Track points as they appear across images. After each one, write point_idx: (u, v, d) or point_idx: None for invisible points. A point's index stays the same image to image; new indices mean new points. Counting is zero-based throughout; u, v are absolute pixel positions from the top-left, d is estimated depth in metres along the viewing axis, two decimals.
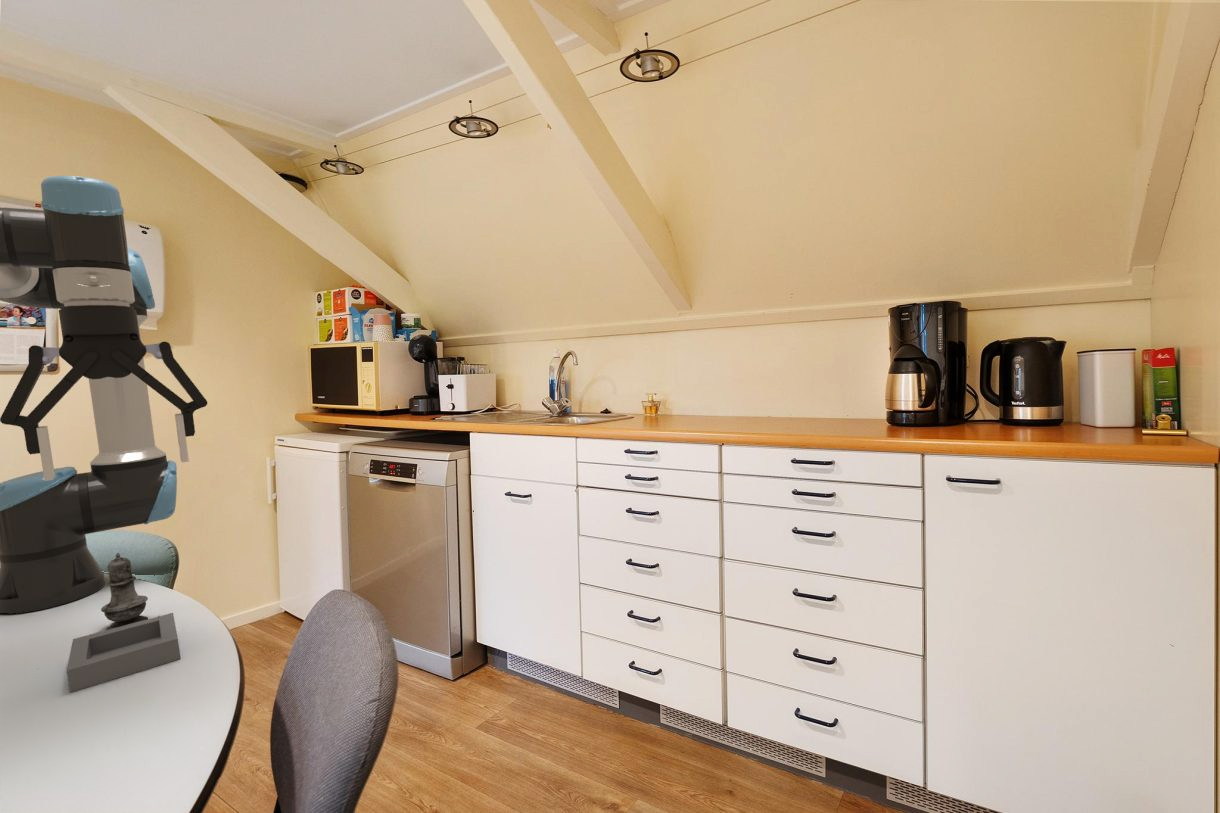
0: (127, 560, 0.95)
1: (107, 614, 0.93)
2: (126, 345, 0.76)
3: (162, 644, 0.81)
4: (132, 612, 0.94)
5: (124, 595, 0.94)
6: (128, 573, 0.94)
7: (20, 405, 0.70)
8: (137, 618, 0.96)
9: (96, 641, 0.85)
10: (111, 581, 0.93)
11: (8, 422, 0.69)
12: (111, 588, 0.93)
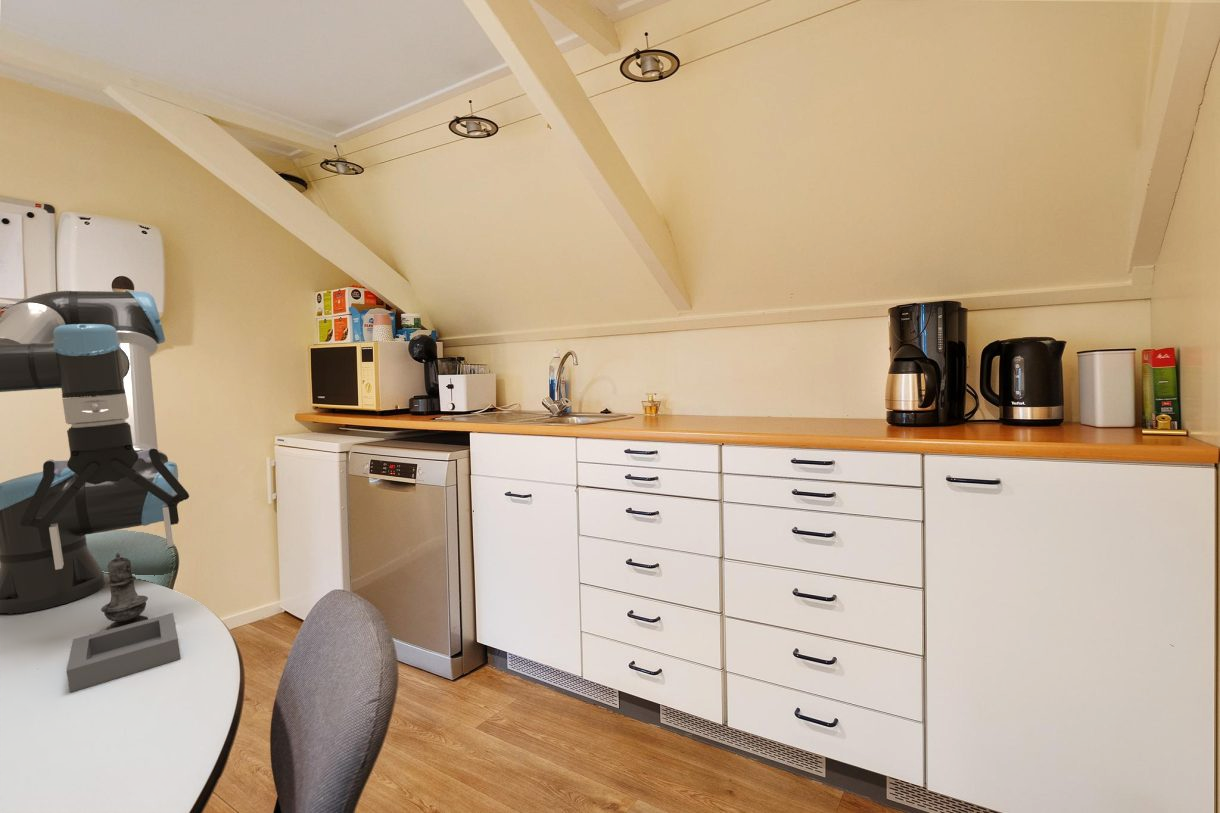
0: (127, 560, 0.95)
1: (107, 614, 0.93)
2: (122, 454, 0.93)
3: (162, 644, 0.81)
4: (132, 612, 0.94)
5: (124, 595, 0.94)
6: (128, 573, 0.94)
7: (36, 510, 0.87)
8: (137, 618, 0.96)
9: (96, 641, 0.85)
10: (111, 581, 0.93)
11: (26, 524, 0.86)
12: (111, 588, 0.93)
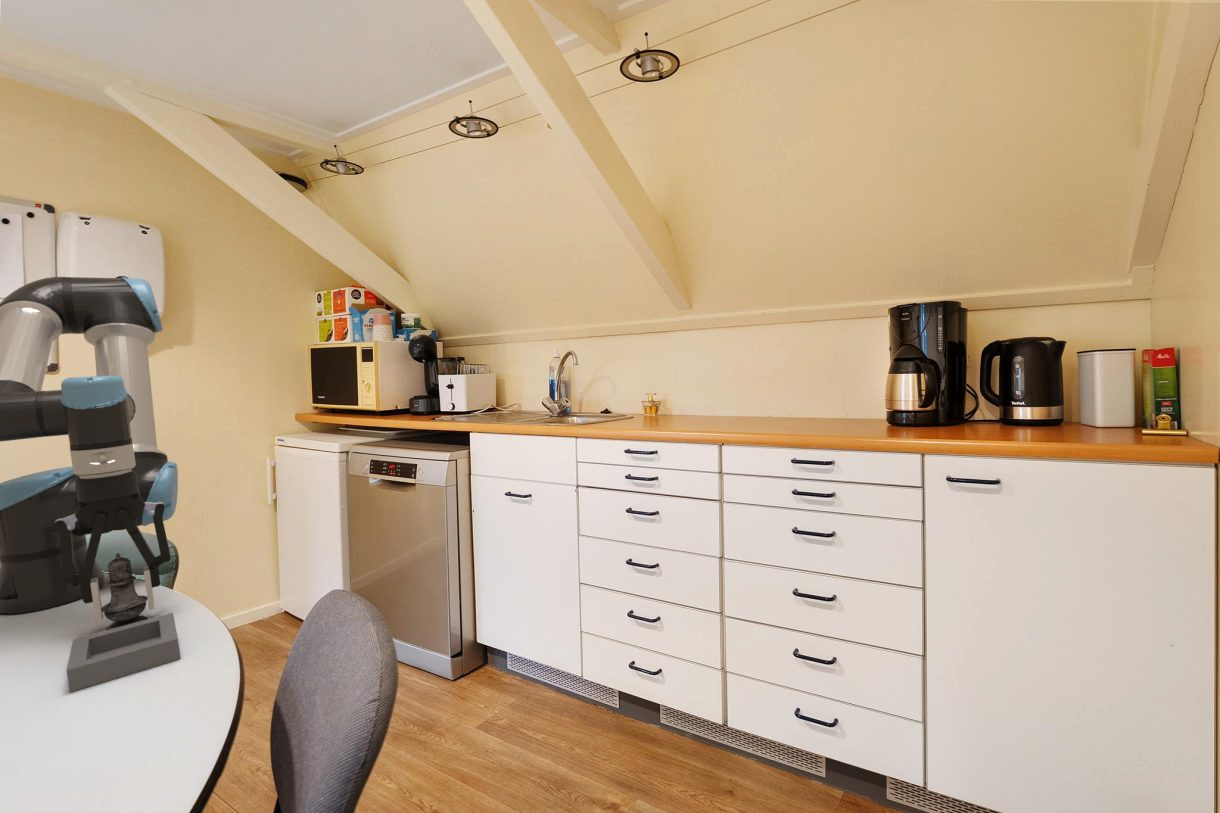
0: (127, 560, 0.94)
1: (107, 614, 0.93)
2: (131, 501, 0.94)
3: (162, 644, 0.81)
4: (132, 612, 0.94)
5: (124, 595, 0.94)
6: (128, 573, 0.94)
7: (71, 566, 0.90)
8: (137, 618, 0.96)
9: (96, 641, 0.85)
10: (111, 581, 0.93)
11: (70, 581, 0.90)
12: (111, 588, 0.93)
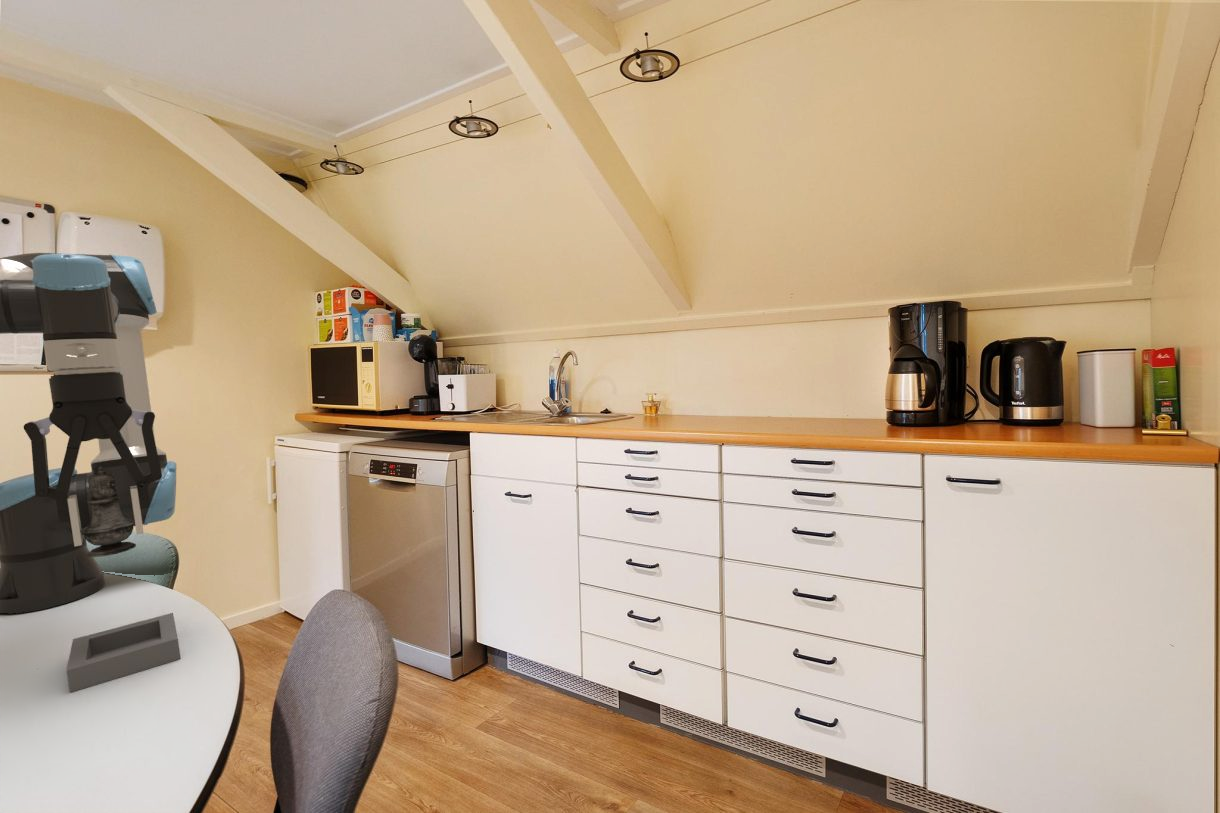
0: (111, 475, 0.81)
1: (87, 536, 0.79)
2: (115, 406, 0.81)
3: (162, 644, 0.81)
4: (117, 534, 0.80)
5: (107, 514, 0.80)
6: (112, 490, 0.81)
7: (45, 477, 0.77)
8: (123, 544, 0.83)
9: (96, 641, 0.85)
10: (92, 498, 0.80)
11: (44, 494, 0.77)
12: (92, 506, 0.80)
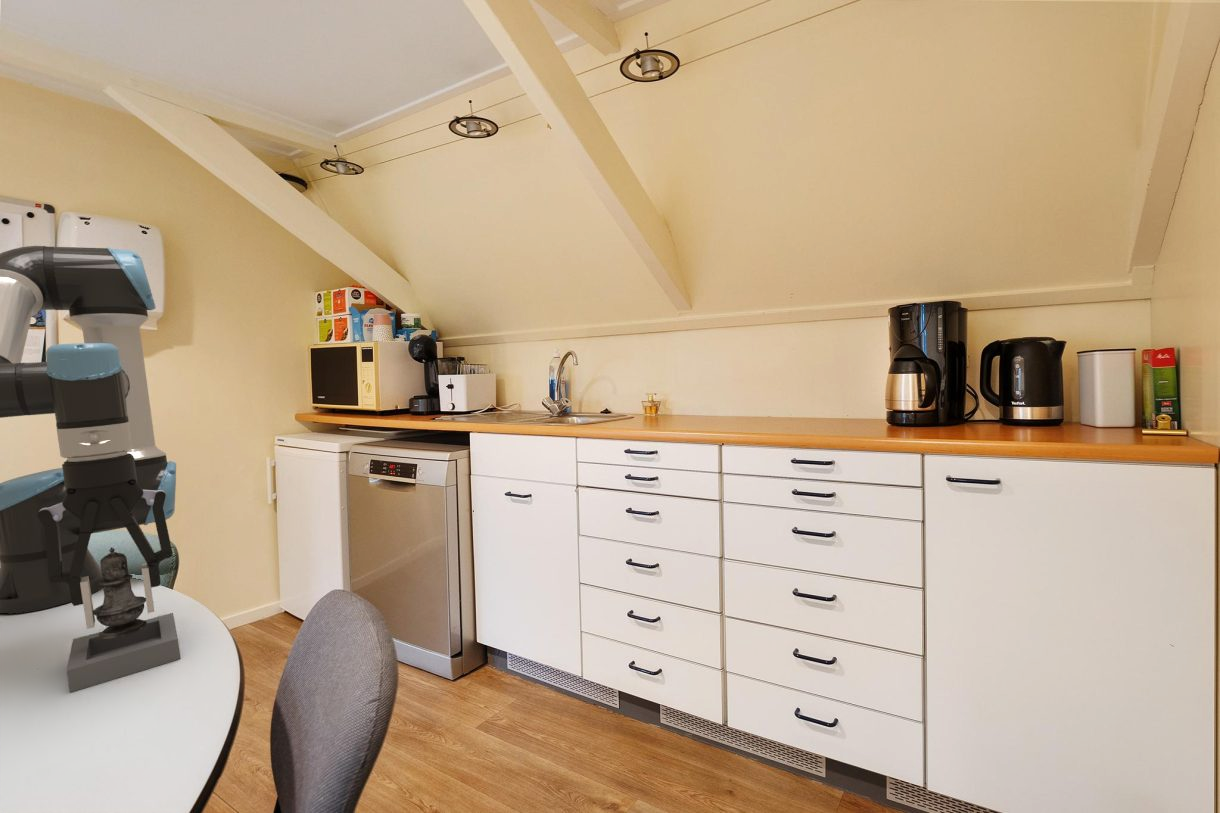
0: (123, 556, 0.82)
1: (99, 618, 0.80)
2: (127, 488, 0.82)
3: (162, 644, 0.81)
4: (129, 615, 0.82)
5: (119, 595, 0.82)
6: (124, 571, 0.82)
7: (58, 563, 0.78)
8: (134, 622, 0.84)
9: (96, 641, 0.85)
10: (104, 580, 0.81)
11: (57, 580, 0.78)
12: (104, 588, 0.81)
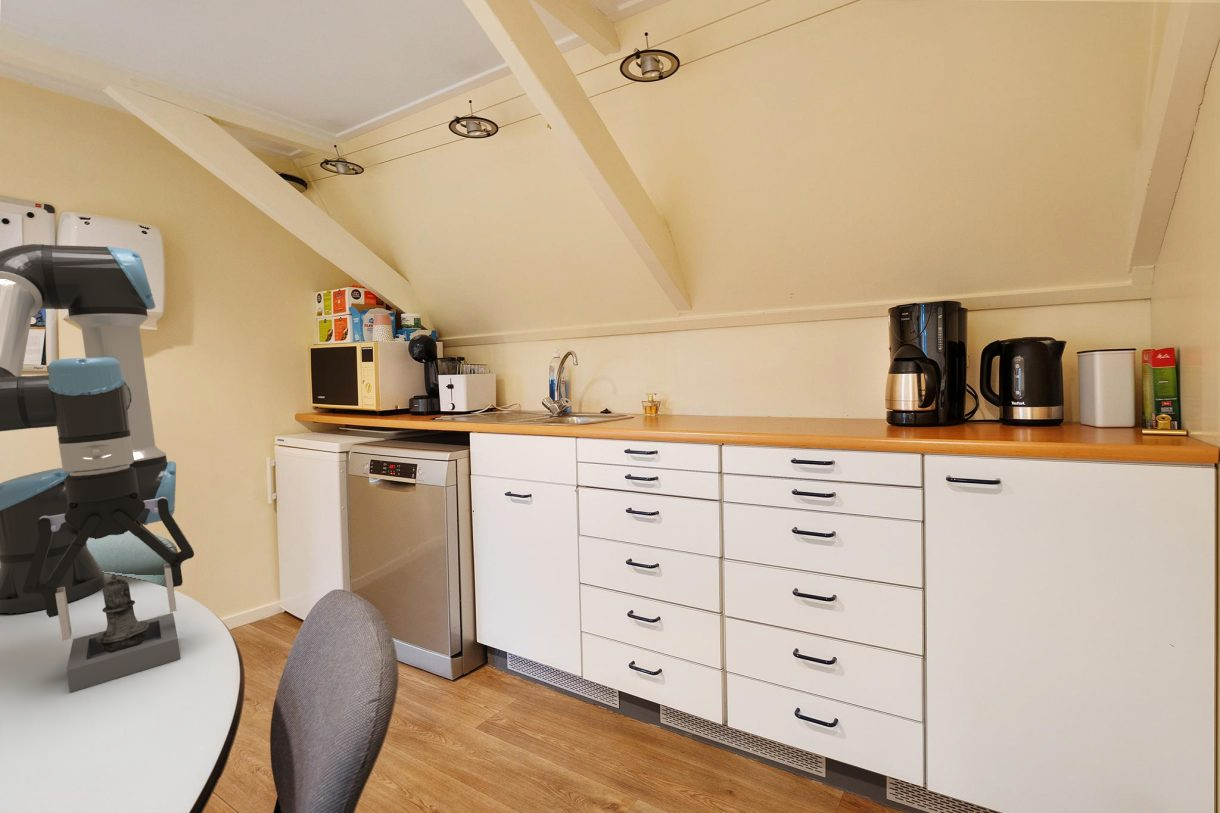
0: (125, 582, 0.83)
1: (103, 645, 0.81)
2: (127, 503, 0.82)
3: (162, 644, 0.81)
4: (132, 641, 0.82)
5: (122, 622, 0.82)
6: (126, 597, 0.83)
7: (38, 574, 0.77)
8: None
9: (96, 641, 0.85)
10: (107, 607, 0.81)
11: (30, 591, 0.76)
12: (107, 615, 0.82)
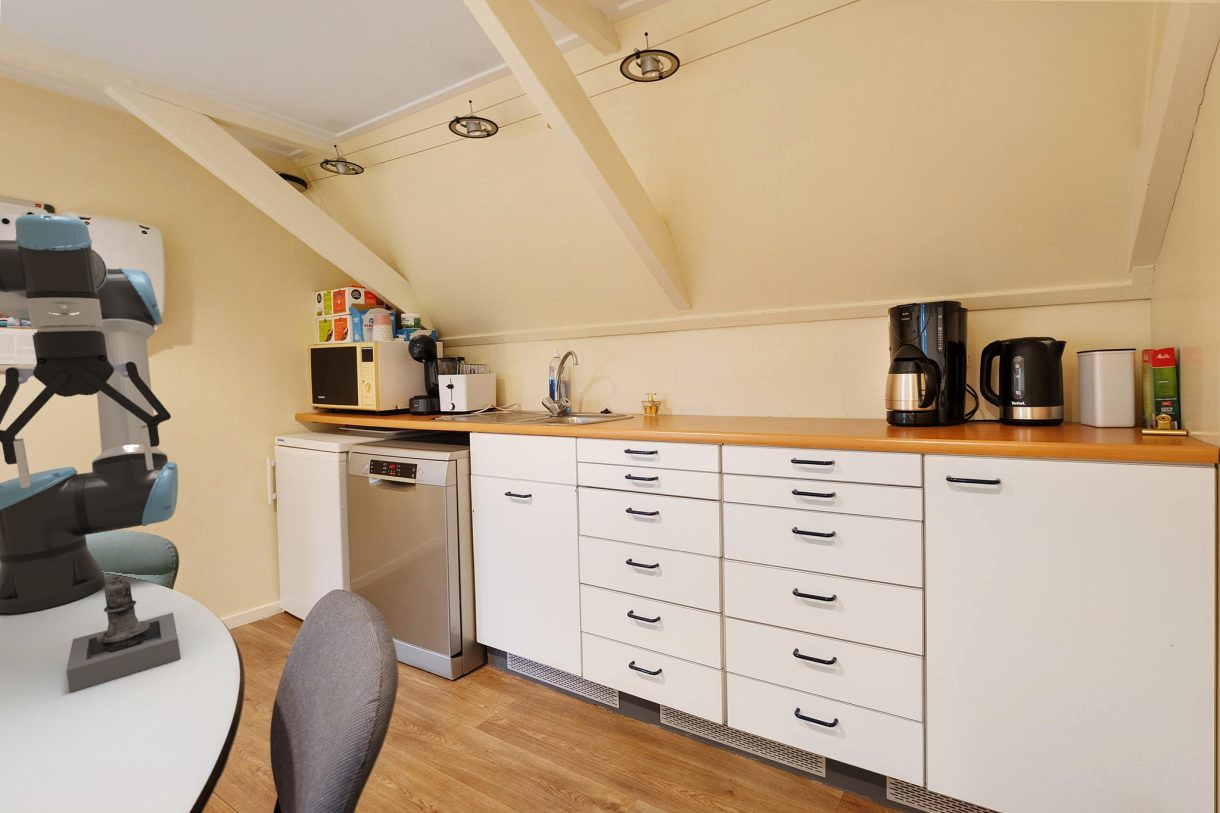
0: (126, 582, 0.83)
1: (104, 645, 0.81)
2: (95, 365, 0.84)
3: (162, 644, 0.81)
4: (132, 642, 0.82)
5: (123, 622, 0.82)
6: (128, 597, 0.83)
7: None
8: None
9: (96, 641, 0.85)
10: (108, 607, 0.82)
11: None
12: (108, 615, 0.82)
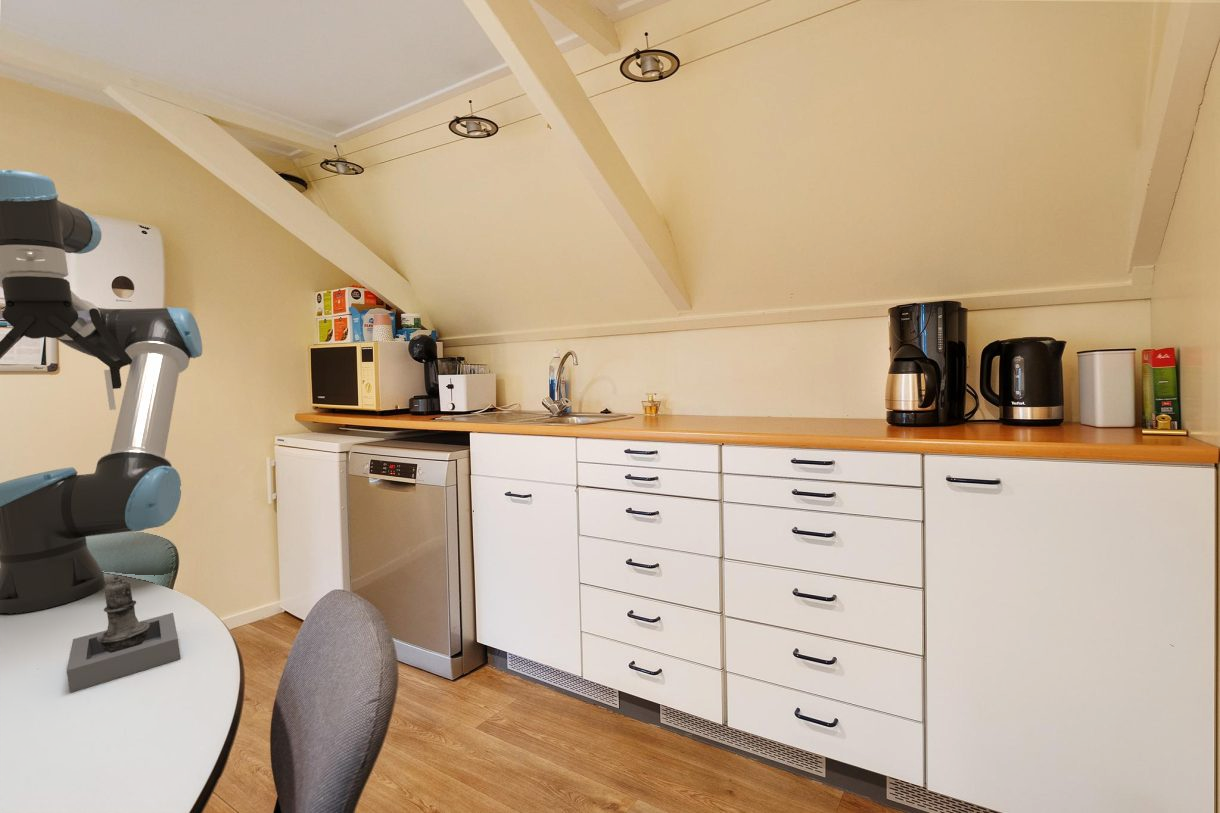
0: (126, 582, 0.83)
1: (104, 645, 0.81)
2: (60, 310, 0.91)
3: (162, 644, 0.81)
4: (132, 642, 0.82)
5: (123, 622, 0.82)
6: (128, 597, 0.83)
7: None
8: None
9: (96, 641, 0.85)
10: (108, 607, 0.82)
11: None
12: (108, 615, 0.82)
